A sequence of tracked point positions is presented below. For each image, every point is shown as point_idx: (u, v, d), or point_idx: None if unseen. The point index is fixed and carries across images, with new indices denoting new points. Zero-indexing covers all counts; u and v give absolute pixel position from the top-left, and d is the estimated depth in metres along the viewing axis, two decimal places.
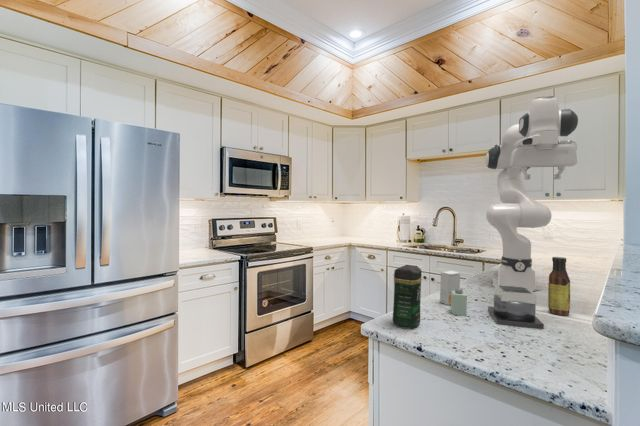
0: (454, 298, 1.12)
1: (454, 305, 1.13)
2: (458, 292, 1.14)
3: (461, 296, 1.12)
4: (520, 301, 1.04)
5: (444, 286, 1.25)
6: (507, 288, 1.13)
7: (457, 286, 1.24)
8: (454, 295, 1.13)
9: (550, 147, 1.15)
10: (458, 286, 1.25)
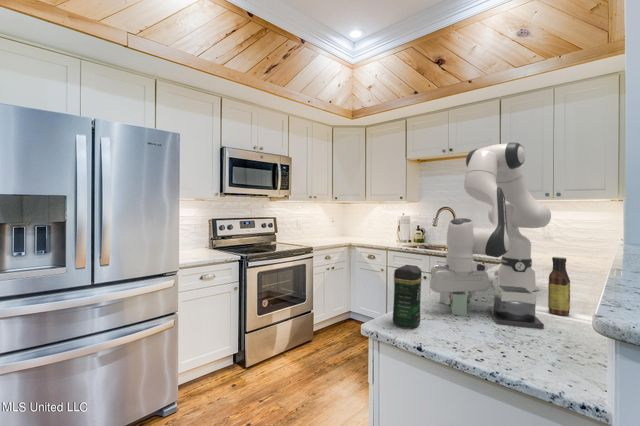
0: (454, 298, 1.12)
1: (454, 305, 1.13)
2: (458, 292, 1.14)
3: (461, 296, 1.12)
4: (520, 301, 1.04)
5: None
6: (507, 288, 1.13)
7: None
8: (454, 295, 1.13)
9: None
10: None
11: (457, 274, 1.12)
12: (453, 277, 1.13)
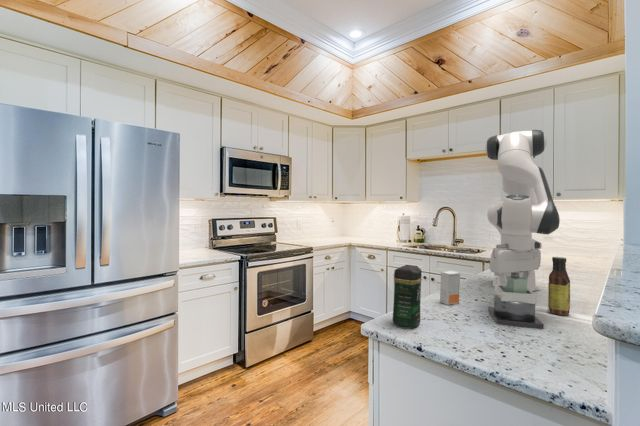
0: (515, 283, 1.06)
1: (515, 291, 1.06)
2: (516, 276, 1.07)
3: (522, 280, 1.06)
4: (520, 301, 1.04)
5: (444, 286, 1.25)
6: None
7: (457, 286, 1.24)
8: (515, 280, 1.06)
9: None
10: (458, 286, 1.25)
11: (518, 253, 1.05)
12: (513, 256, 1.06)
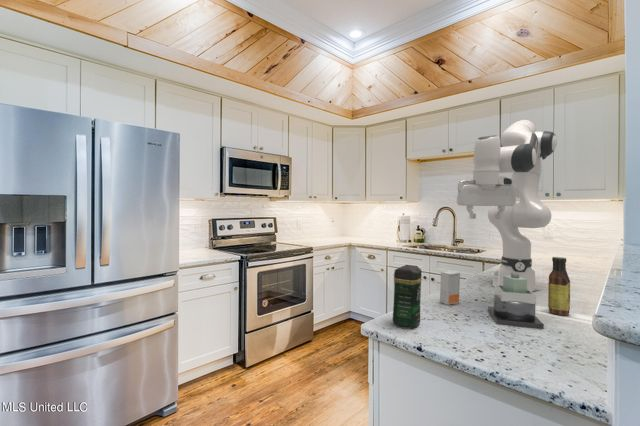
0: (515, 283, 1.06)
1: (515, 291, 1.06)
2: (516, 276, 1.07)
3: (522, 280, 1.06)
4: (520, 301, 1.04)
5: (444, 286, 1.25)
6: None
7: (457, 286, 1.24)
8: (515, 280, 1.06)
9: None
10: (458, 286, 1.25)
11: (484, 188, 1.15)
12: (480, 191, 1.16)
